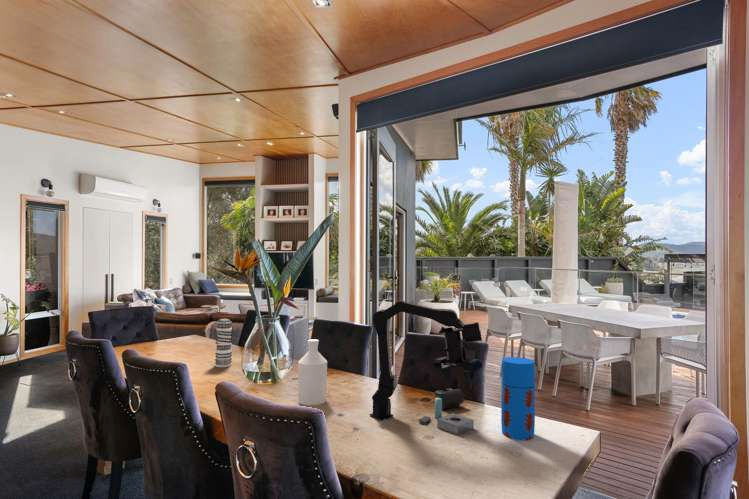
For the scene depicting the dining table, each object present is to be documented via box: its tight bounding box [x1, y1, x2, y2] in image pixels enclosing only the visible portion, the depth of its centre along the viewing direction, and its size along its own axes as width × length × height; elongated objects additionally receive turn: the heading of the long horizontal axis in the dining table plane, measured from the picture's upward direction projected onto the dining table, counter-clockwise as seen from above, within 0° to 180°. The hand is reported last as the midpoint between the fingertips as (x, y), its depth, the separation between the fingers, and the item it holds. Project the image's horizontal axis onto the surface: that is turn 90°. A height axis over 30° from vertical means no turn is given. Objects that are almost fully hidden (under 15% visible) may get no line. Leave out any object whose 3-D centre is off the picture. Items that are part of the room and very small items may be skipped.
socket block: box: [436, 413, 475, 436], centre depth 159 cm, size 9×9×3 cm
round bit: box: [434, 397, 443, 420], centre depth 169 cm, size 3×3×7 cm
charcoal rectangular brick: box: [419, 415, 431, 426], centre depth 165 cm, size 5×2×2 cm, turn 154°
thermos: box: [500, 356, 536, 441], centre depth 154 cm, size 11×11×25 cm
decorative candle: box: [214, 318, 234, 368], centre depth 247 cm, size 9×9×25 cm
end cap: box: [434, 387, 465, 411], centre depth 181 cm, size 10×7×7 cm
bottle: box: [297, 338, 328, 406], centre depth 187 cm, size 12×12×25 cm
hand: (460, 387), depth 164 cm, fingers open, 9 cm apart
